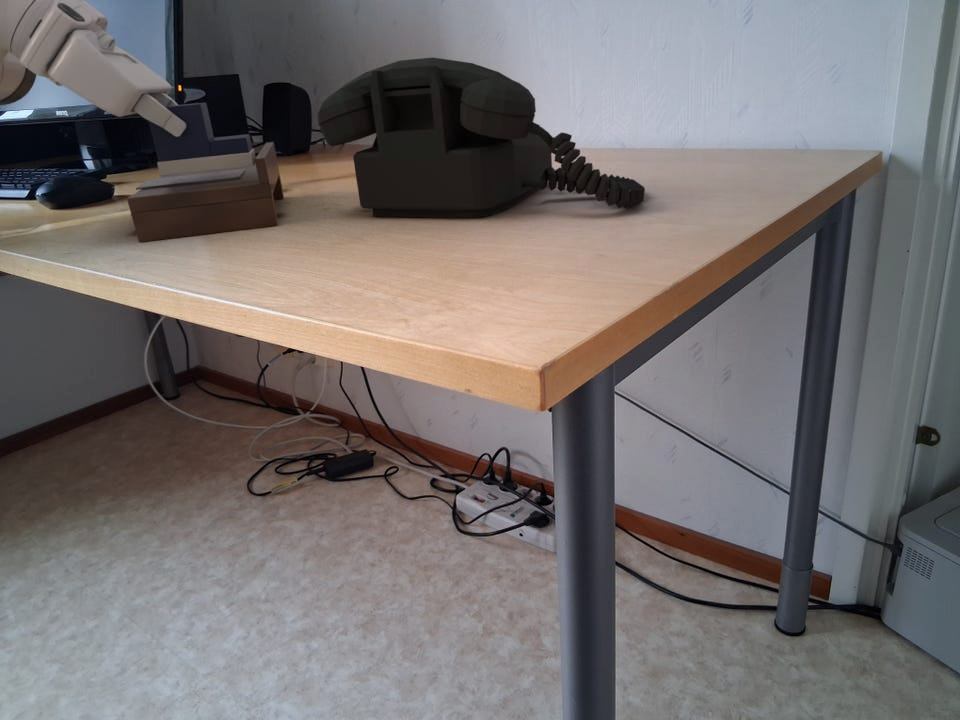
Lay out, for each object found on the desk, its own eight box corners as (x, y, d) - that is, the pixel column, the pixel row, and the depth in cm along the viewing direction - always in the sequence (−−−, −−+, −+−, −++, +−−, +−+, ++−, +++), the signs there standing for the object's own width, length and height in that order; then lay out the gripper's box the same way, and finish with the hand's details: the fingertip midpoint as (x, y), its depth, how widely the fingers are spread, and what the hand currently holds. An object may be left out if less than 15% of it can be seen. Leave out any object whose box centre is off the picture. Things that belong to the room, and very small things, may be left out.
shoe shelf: (133, 243, 71) (114, 173, 69) (169, 210, 89) (155, 153, 87) (277, 225, 74) (264, 157, 71) (284, 196, 92) (273, 141, 89)
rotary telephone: (672, 181, 79) (676, 37, 73) (626, 225, 61) (626, 38, 55) (417, 184, 93) (404, 62, 87) (320, 219, 75) (294, 70, 69)
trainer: (160, 176, 76) (143, 109, 74) (168, 170, 81) (152, 107, 78) (253, 166, 78) (240, 100, 75) (256, 161, 83) (244, 99, 80)
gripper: (80, 67, 82) (187, 144, 87) (13, 63, 63) (154, 162, 69) (109, 22, 81) (215, 103, 86) (50, 6, 62) (190, 110, 68)
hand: (188, 129), depth 78 cm, fingers closed on trainer, 5 cm apart
